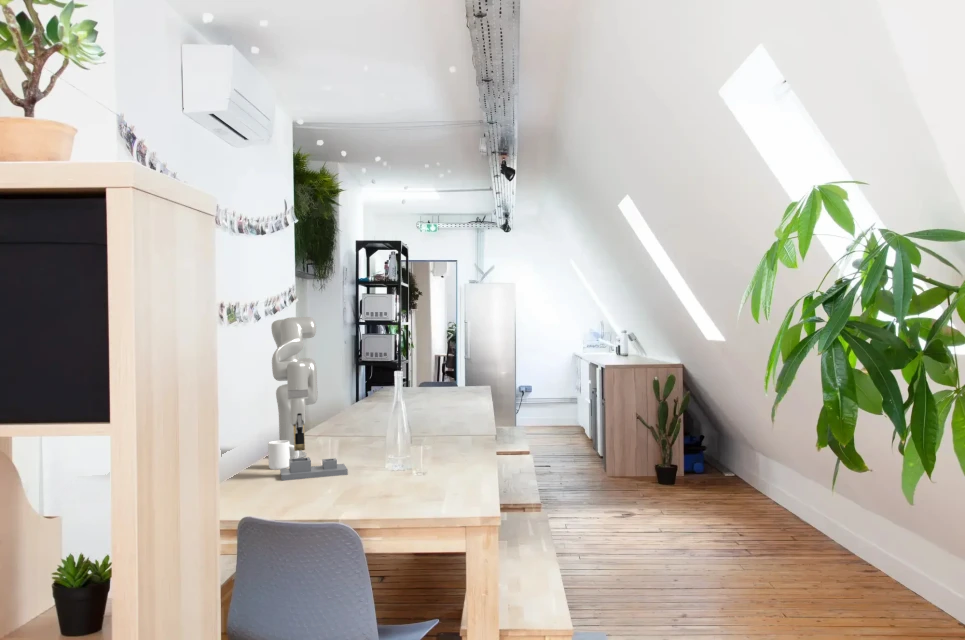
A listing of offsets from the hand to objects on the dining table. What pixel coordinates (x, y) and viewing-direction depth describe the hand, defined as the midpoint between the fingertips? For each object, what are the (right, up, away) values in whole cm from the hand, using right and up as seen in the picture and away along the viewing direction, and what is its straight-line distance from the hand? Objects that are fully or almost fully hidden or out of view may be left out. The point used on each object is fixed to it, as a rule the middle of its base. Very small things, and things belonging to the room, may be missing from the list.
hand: (299, 442), depth 274 cm
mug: (-11, -13, +18) cm, 25 cm away
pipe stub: (0, -3, 0) cm, 3 cm away
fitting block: (+5, -12, +2) cm, 13 cm away
